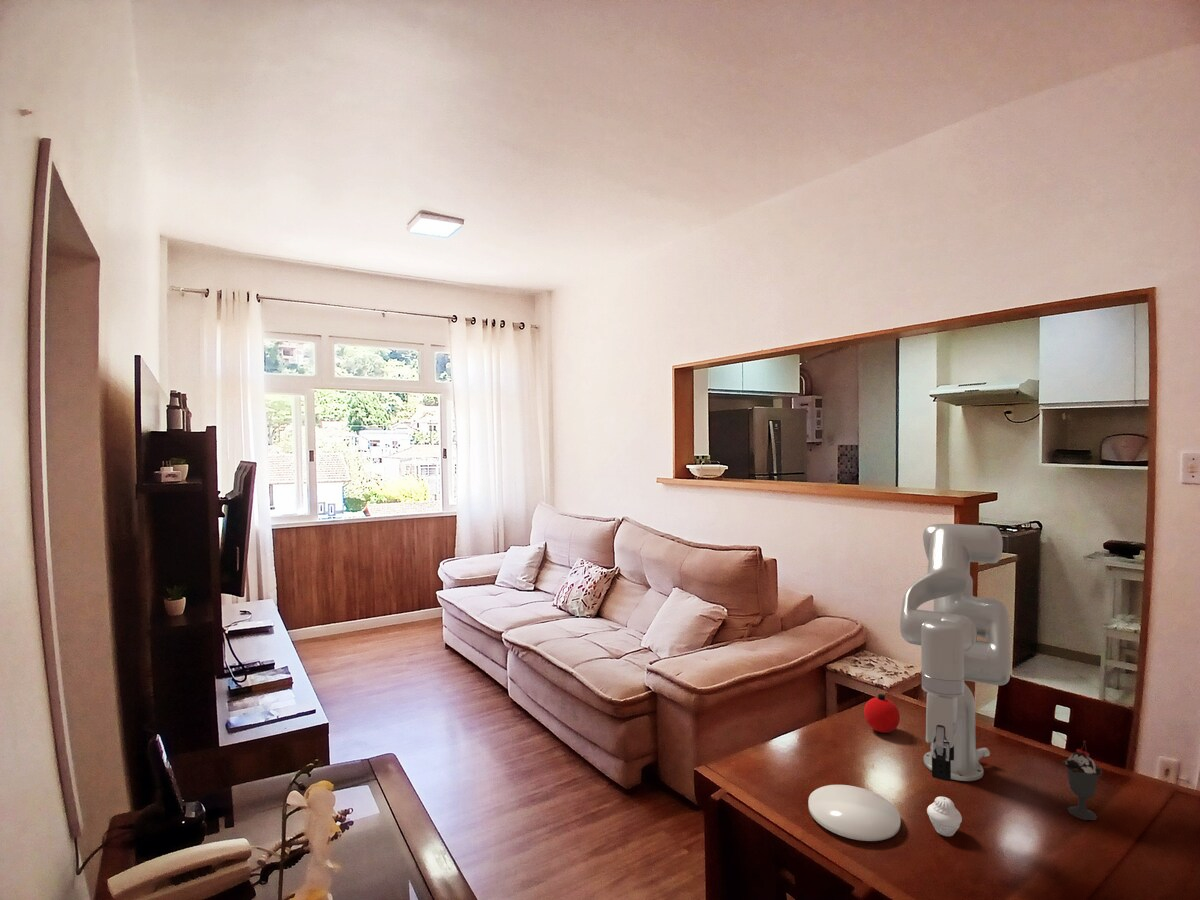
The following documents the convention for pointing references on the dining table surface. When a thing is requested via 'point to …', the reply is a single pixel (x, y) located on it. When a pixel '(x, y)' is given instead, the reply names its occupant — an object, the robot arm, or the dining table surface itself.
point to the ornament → (881, 714)
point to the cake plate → (854, 812)
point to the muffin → (944, 816)
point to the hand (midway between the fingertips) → (943, 768)
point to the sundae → (1082, 781)
